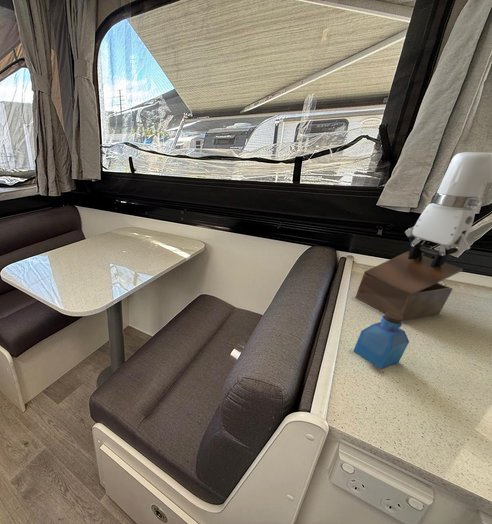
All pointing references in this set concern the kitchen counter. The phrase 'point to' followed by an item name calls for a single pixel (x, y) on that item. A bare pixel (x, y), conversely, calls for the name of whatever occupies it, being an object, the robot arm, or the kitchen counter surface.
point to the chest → (402, 298)
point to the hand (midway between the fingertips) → (423, 262)
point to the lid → (412, 271)
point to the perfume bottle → (383, 341)
